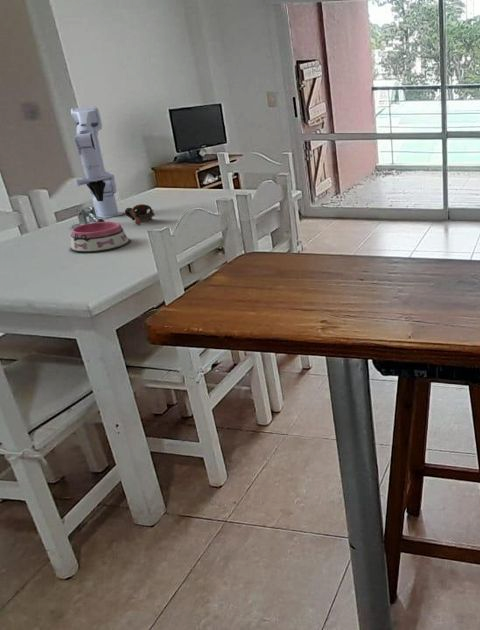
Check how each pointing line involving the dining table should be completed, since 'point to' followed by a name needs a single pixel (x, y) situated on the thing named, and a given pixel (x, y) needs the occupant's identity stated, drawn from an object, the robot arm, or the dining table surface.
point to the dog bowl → (98, 237)
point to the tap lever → (88, 213)
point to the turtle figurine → (139, 213)
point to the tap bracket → (84, 216)
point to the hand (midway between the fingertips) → (100, 200)
